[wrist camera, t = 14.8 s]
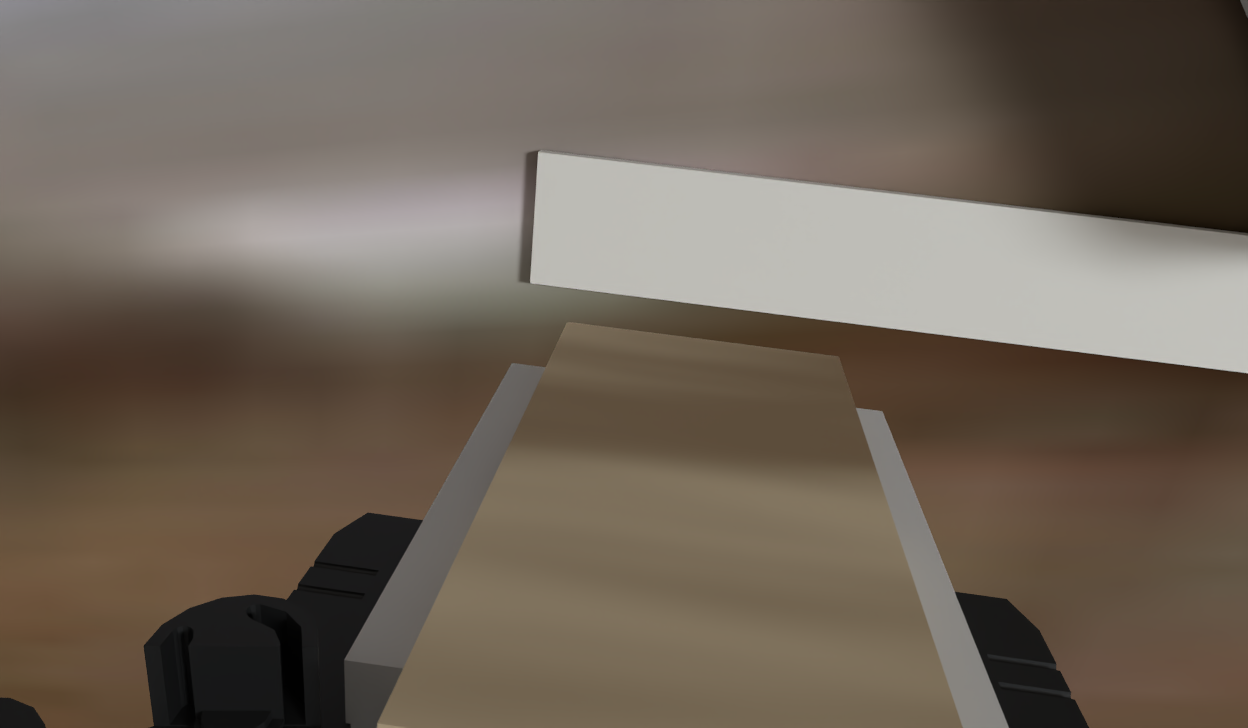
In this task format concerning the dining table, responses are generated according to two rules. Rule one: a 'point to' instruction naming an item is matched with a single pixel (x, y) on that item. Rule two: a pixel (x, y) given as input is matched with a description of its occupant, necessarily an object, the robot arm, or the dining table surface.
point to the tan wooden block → (679, 557)
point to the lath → (893, 260)
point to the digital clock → (1245, 6)
